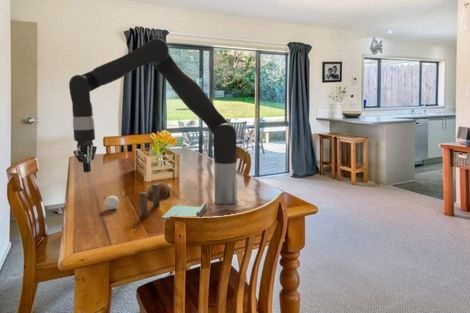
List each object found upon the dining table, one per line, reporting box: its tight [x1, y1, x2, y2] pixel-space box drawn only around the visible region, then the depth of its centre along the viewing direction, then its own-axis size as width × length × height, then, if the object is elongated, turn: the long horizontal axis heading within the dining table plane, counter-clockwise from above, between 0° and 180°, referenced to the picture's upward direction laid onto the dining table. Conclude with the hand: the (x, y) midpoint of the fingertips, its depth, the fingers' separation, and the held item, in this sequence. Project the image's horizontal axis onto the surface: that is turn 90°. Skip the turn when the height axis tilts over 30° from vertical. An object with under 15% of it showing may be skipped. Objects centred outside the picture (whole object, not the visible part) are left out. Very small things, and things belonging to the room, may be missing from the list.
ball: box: [104, 195, 120, 211], centre depth 141 cm, size 6×6×6 cm
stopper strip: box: [196, 202, 207, 217], centre depth 136 cm, size 1×12×2 cm, turn 172°
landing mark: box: [161, 205, 208, 219], centre depth 137 cm, size 14×14×1 cm
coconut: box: [147, 181, 172, 200], centre depth 160 cm, size 10×10×8 cm
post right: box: [151, 183, 161, 208], centre depth 144 cm, size 3×3×9 cm
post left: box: [139, 191, 149, 219], centre depth 132 cm, size 3×3×9 cm
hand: (87, 171), depth 140 cm, fingers closed
